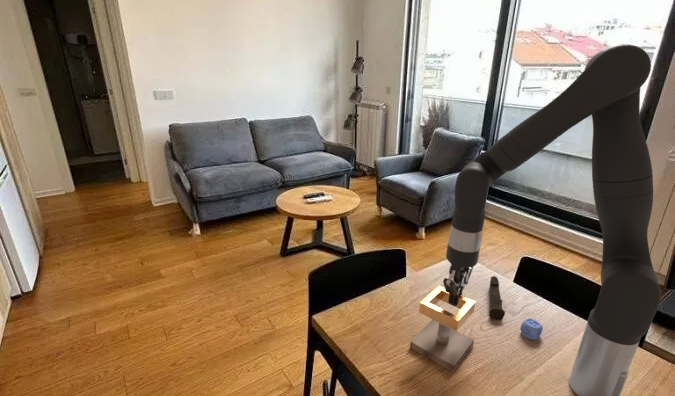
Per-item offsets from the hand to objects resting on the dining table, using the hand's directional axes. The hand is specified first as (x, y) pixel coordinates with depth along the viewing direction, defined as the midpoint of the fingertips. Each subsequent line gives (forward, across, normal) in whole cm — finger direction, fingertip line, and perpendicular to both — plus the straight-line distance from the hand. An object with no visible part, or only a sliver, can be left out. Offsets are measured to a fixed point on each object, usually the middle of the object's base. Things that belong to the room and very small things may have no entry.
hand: (454, 302), depth 96 cm
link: (+1, -4, 0) cm, 4 cm away
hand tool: (+12, +25, -3) cm, 28 cm away
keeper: (+12, -4, 0) cm, 12 cm away
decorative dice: (+12, +17, -16) cm, 26 cm away
